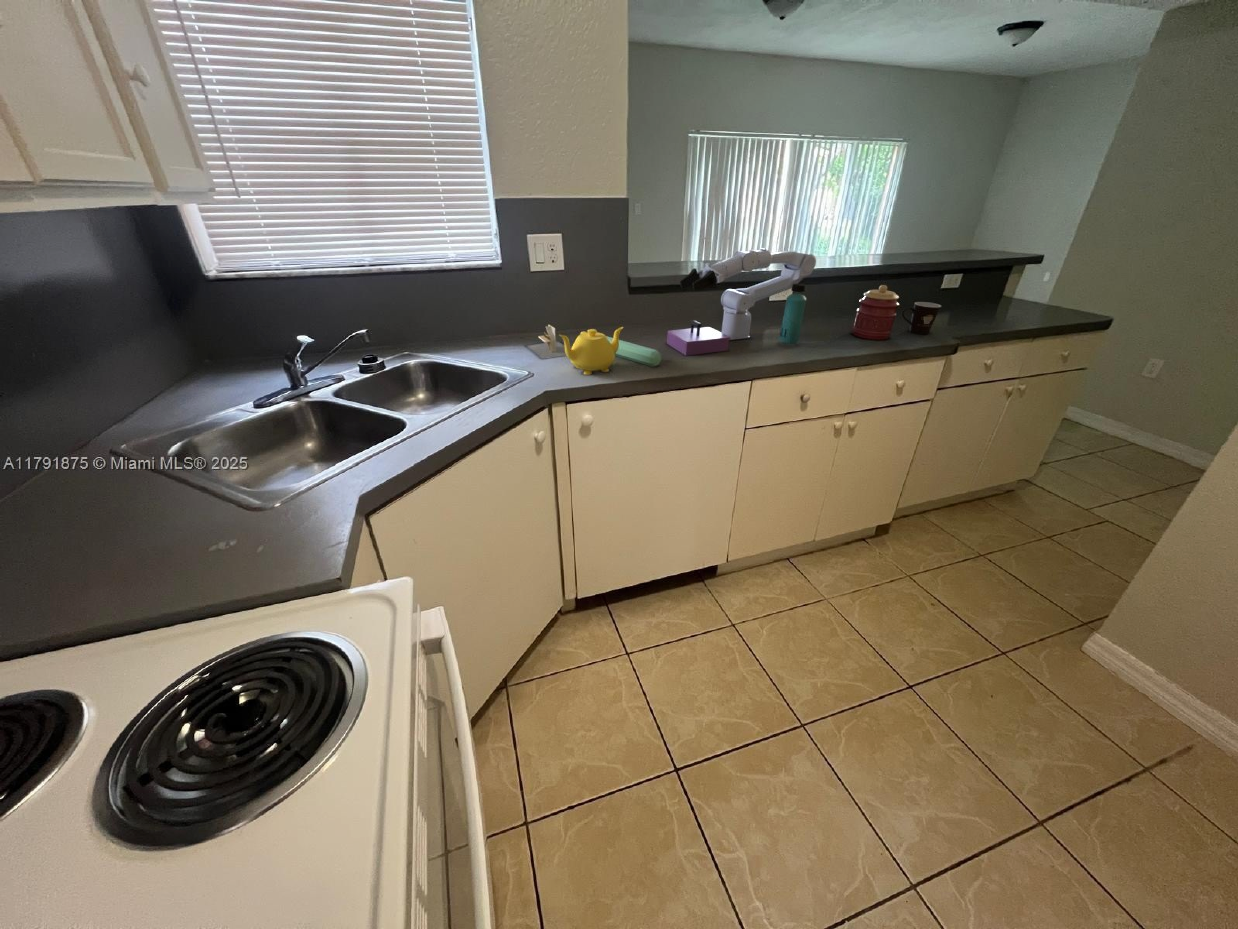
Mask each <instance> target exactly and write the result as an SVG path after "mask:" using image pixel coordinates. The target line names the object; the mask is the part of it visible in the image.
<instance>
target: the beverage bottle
mask: <svg viewBox="0 0 1238 929" xmlns="http://www.w3.org/2000/svg"><path fill="white" fill-rule="evenodd" d="M790 290H791V292H795V293H791V294H789V295H788V296H787V297H786V300H785V306H784V309H783V310H784V311H783V317H782V323H781V327H780V332H779V341H780V342H781V343H786V344H797V343H798V342H799V339H800V336H801V335H800V334H801V330H802V329H801V328H802V325H803V319H804V318H803V317H804V312H805V307H806V303H807V297H806V296H805V295H804V294H800V293H804V292H805V290H806V284H804V283H798V284H793V286H792V288H791V289H790Z"/></svg>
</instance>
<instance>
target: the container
mask: <svg viewBox="0 0 1238 929" xmlns="http://www.w3.org/2000/svg"><path fill="white" fill-rule="evenodd" d="M605 336H606V337H607V338H608V340H609V342H610V343H612V341H613V337H611V336H607V335H605ZM615 357H619V358H622V359H625V360H628V361H632V362H635V363H638V364H642V365H645V366H648V367H651V368H653V367H656V366H659V364H660V363H661V360H662V354H661V353H660V352H659V350H657V349H654V348H650V347H646V346H643V345H639V344H635V343H633V342H628V341H625V340H621V339H619V348H618V350H617V352H616V353H615Z"/></svg>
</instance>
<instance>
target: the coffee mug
mask: <svg viewBox="0 0 1238 929" xmlns="http://www.w3.org/2000/svg"><path fill="white" fill-rule="evenodd" d="M941 308H942V305H941V304H938V303H934V302H928V301H916V302H914V304H913V307H910V306H909V307H905V308H904V309H902V311H901V316H902V318H903V319H904V320H905V321H906V322H907V323H908V324H909V332H910V333H912V334H918V335H928V334H929V333H930V331H931V329H932V327H933V325H934V322H935V320H936V318H937V316H938V314H939V312H940V310H941ZM907 310H911V311H912V315H911V321H910V320H909V319H908V318H906V317H905V315H904V314H905V311H907Z"/></svg>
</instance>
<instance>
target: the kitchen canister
mask: <svg viewBox="0 0 1238 929" xmlns="http://www.w3.org/2000/svg"><path fill="white" fill-rule="evenodd" d="M863 296H864V297H863V298H862V297H861V298H860V299H859V303H860V304H859V306H858V307H859V308H857V309H856V314H855V319H854V322H853V325H852V328H851V334H852V335H853V336H856V337H858V338H861V339H865V340H866V339H867V340H875V341H877V340H879V341H881V340H882V341H883V340H887V339H889V338H890V336H891V334H892V330H893V326H894V324H895V320H896V317H897V315H898V314H897V309H898V307H899V306H901V305H900V302H898V300H899V298H900V296H899V295H898V294H896V292H894V291H891V290H888V286H887V285H886V284H881V285H880V286H879V287H878V289H869V290H868V291H866V292H864V293H863Z"/></svg>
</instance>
